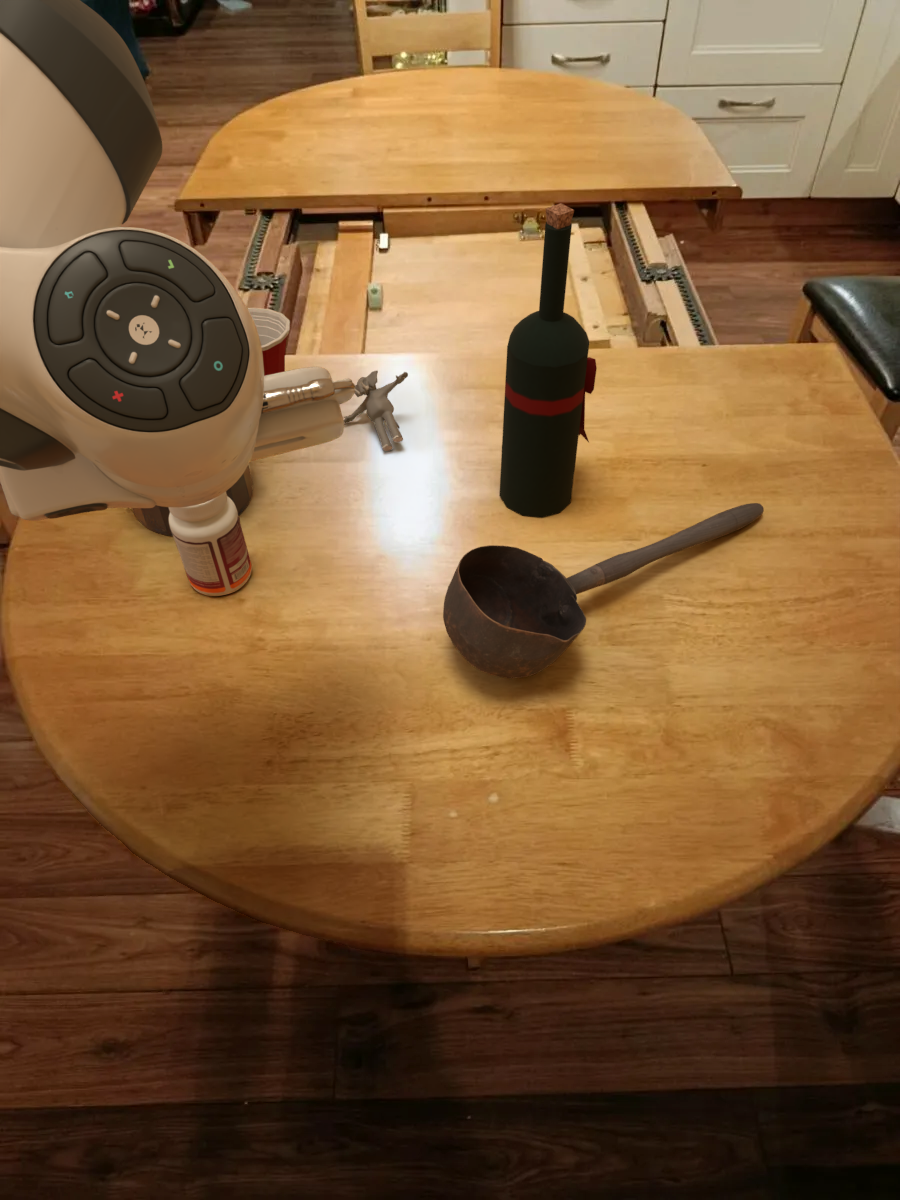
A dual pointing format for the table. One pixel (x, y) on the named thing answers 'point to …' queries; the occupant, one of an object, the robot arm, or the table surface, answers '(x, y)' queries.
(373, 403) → the elephant figurine
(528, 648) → the ladle
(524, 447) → the wine bottle
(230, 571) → the pill bottle
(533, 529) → the table surface
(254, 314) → the plastic cup
